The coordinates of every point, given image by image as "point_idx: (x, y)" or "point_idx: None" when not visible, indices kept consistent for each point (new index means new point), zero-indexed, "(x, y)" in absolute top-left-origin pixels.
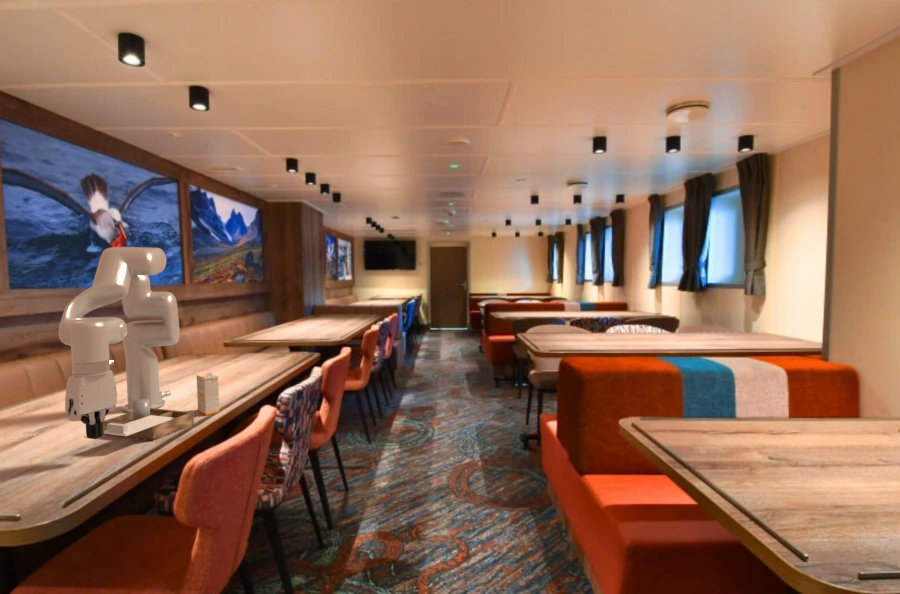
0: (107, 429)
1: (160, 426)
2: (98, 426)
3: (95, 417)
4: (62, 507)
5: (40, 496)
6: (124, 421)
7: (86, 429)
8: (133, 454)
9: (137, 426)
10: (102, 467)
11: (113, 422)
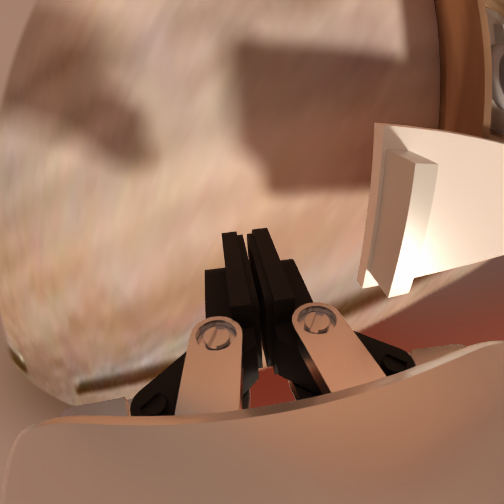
0: (392, 156)
1: None
2: (264, 347)
3: (302, 358)
4: (75, 390)
5: (43, 328)
6: (501, 7)
7: (205, 303)
8: (314, 283)
9: (447, 236)
10: (197, 300)
11: (481, 18)
